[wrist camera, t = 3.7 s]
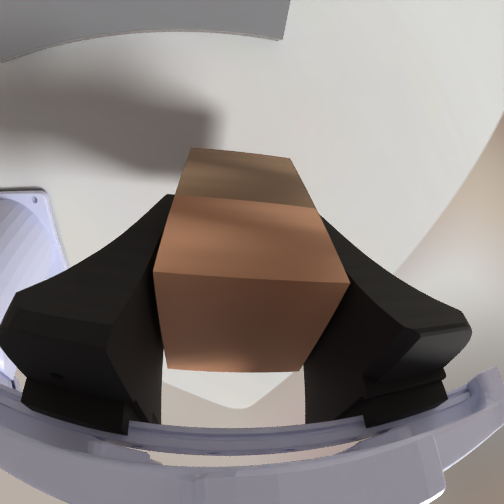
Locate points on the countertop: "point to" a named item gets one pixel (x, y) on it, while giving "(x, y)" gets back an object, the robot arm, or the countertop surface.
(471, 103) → the countertop surface
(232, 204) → the copper rectangular block
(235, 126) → the countertop surface
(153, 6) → the collar board
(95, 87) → the countertop surface
